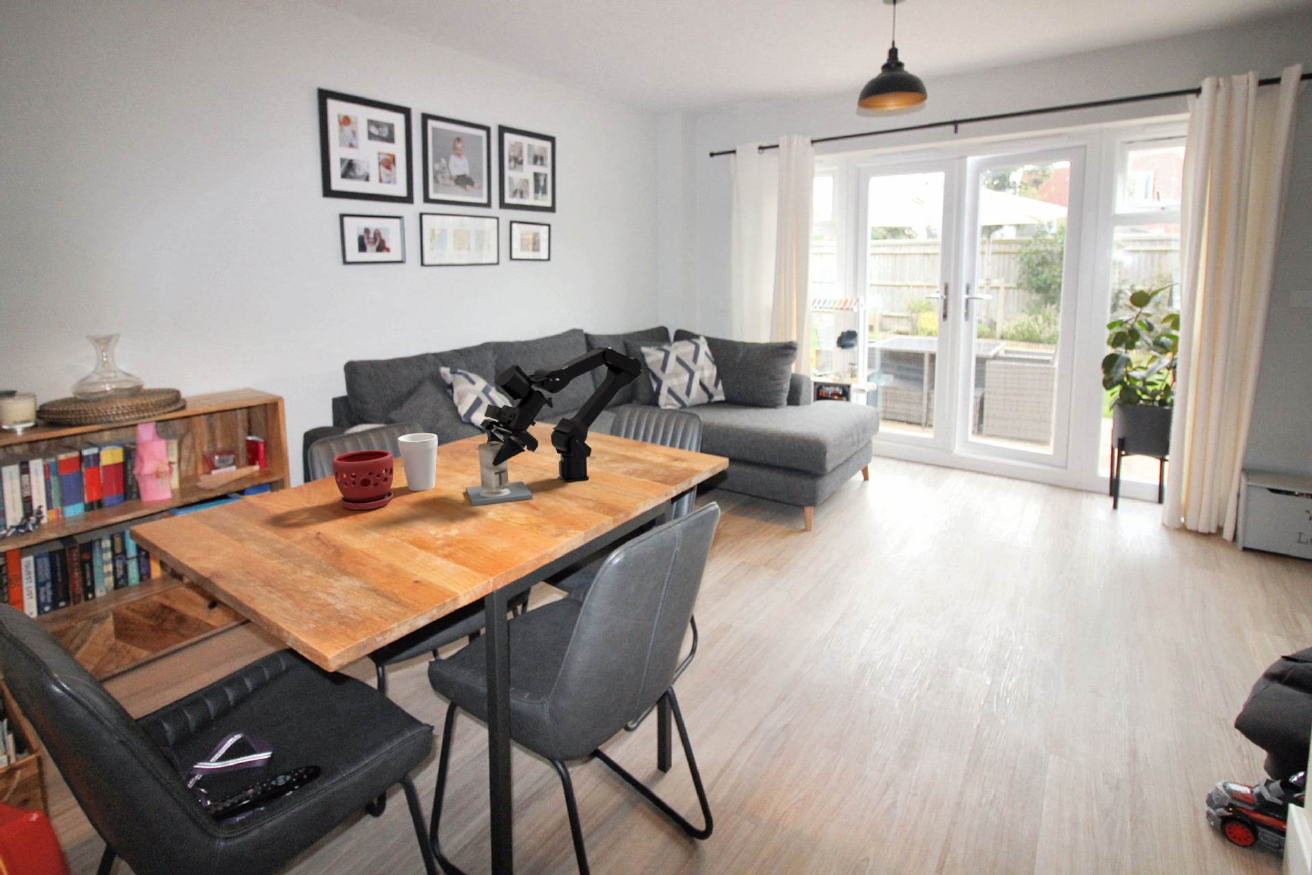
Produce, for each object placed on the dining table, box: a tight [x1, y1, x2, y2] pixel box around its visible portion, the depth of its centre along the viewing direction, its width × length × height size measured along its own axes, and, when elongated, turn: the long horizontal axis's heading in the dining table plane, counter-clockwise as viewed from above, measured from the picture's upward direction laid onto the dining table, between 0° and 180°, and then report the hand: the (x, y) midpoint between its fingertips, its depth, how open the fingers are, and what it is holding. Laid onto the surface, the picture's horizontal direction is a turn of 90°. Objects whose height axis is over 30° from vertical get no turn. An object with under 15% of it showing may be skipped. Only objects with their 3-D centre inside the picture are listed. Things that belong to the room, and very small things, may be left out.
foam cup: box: [397, 432, 439, 492], centre depth 187 cm, size 10×9×13 cm
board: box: [465, 480, 533, 507], centre depth 182 cm, size 14×12×1 cm
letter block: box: [477, 441, 509, 492], centre depth 179 cm, size 5×5×11 cm
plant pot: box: [331, 449, 394, 511], centre depth 174 cm, size 13×13×12 cm
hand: (488, 463), depth 178 cm, fingers closed on letter block, 5 cm apart
